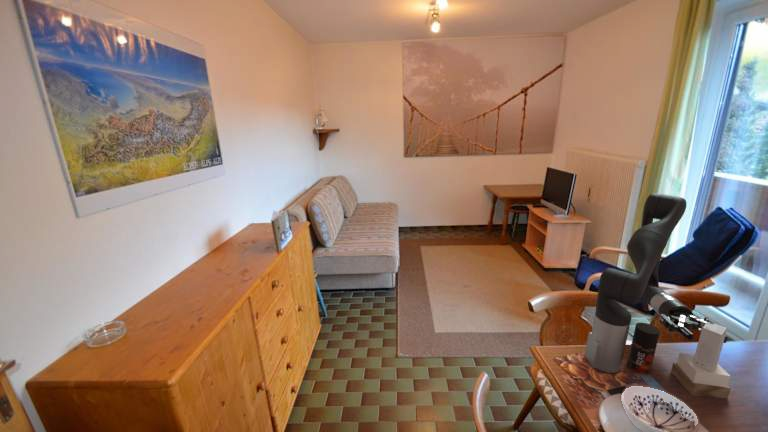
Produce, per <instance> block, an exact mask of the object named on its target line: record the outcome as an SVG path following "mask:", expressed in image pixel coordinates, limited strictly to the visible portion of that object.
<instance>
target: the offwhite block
mask: <svg viewBox="0 0 768 432" xmlns="http://www.w3.org/2000/svg"><path fill="white" fill-rule="evenodd" d="M694 357H695V354H694V353H693V354H690V353H684V352H683V353H682V352H679V354H678V357H677V361H676V362H675V363H676V364H677V365H678V366H679V367H680V368H681V369H682V370H683V372H684V373H685V374H686V375H687V376H688V377H689V379H690V380H691V381H692V382H693V383H698V384H705V385H712V386H719V387H726V388H727V385H728V386H729V382H730V380H731V375H730V373H728V372H727V371H726V370H725V369H724V368H723V367H722V366H721V365H720V364H719V363H718V364H717V366H716V367H715V368H714V369H713V370H712V371H709V370H706V369H704V368H702V367H700V366H698V365H696V364H694V363H693V360H694Z"/></svg>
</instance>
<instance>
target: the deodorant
mask: <svg viewBox="0 0 768 432" xmlns="http://www.w3.org/2000/svg"><path fill="white" fill-rule="evenodd" d="M660 332H661V331H660V329H659V328H658V327H656V326H654V325H653V324H650V323H646V322H637V323H636V324H635V327H634V330H633V336H632V341H631V345H630V349H629V354H628V358H627V364H626V365H627V367H628V369H629V370H631V371H632V372H634V373H636V374H638V375H642V376H647V375H650V373H651V370H652V365H653V362H654V358H655V353H656V349H657V347H658V346H657V345H658V342H659V338H660V334H661V333H660Z"/></svg>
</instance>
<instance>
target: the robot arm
mask: <svg viewBox="0 0 768 432" xmlns="http://www.w3.org/2000/svg"><path fill="white" fill-rule="evenodd" d="M686 209H687V200H686V199H685V198H683V197H680V196H678V195H670V194H663V193H656V192H655V193H653V192H652V193H650V194H649V195H648V196H647V198H646V200H645V203H644V205H643V210H642V218H641V226H640V227H639V228H638V229H636V230H635V231H634V232H633V234H632V236H631V238H630V239H629V240H628V243H627V245H626V250H627V254H628V256H629V258H630V261H632V264H633V266H634V269H635V273H630V272H627V271H625V270H624V271H623V270H621V269H620V270H619V269H616V268H611V267H607V268H605V269H604V270H603V271H602V272H601V275H600V277H599V279H598V280H599V282H598V286H597V287H598V289H597V297H596V304H595V305H596V306H595V312H594V319H593V322H592V329H591V331H589V332H588V336H587V340H586V341H587V342H586V347H585V351H584V352H585V353H584V358H586V360H587V361H588V363H589V364H590V366H591V368H592V369H597V370H600V371H601V372H605V373H609V374H610V373H611V374H615V373H619V372H620V371H621V367H622V364H623V359H624V354H625V349H626V344H627V340H628V335H629V331H630V326H631V322H632V314H631V312H630V311H629V310H628V309H627V308H626V307H625V306H623V305H621V304H620V303H623V304H625V305H631V306H635V305H638V303H639V302H640V301H642V302H644V303H646V304H647V305H648V306H649V307H651V308H652V309H653V310H654V311H655V313H657V314H658V315H659V319H658V322H659V323H660V324H662V326H664V327H665V328H666V329H667V330H668V331H669V332H671V333H674V332H676V333H677V334H680V335H682V336H683V338H685V339H687V340H688V341H693V340H694V338H695V334H694V333H692V332H691V331H690V330H695V331H698V332H700V333H701V330H702V328H703V327H704V326H705V324H707V323H708V322H711V323H714V324H717V325H720V324H719V323H717V322H716V321H715V320H713V319H712V318H710V317H708V316H704V317H703V318H700V317H697V316H696V315H695V314H694V312H693V311H692V310H691V308H689V307H688V306H687V305H686V304H684V303H683V302H681V301H680V300H678V299H677V298H676V297H674V296H672V295H670V294H669V293H667V291H664V289H662V288H660V285H659V284H660V283H659V282H660V281H659V267H660V263H661V259H662V256H663V254H664V253H663V252H664V251H665V249H666V247H667V244H668V242H669V239H670V237H671V235H672V233H673V231H674V229H675V228H676V227H677V225H678V223H680V221H681V219H682V217H684V214H685V212H686ZM654 220H657V221H654ZM619 302H620V303H619ZM701 325H703V326H702V328H701ZM720 326H722V325H720ZM728 339H729V337H728V336H727V334H725V338H724V342H723V344H727V342H728Z"/></svg>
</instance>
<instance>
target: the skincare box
mask: <svg viewBox="0 0 768 432" xmlns="http://www.w3.org/2000/svg"><path fill="white" fill-rule="evenodd" d="M703 326H704V325H703ZM703 326H702V328H701V329H702V330H701V332H700V334H699V339H698V342H697V345H696V350H695V353H694V355H695V357H694V360H693V363H694V364H696V365H698V366H700V367H702V368H704V369H706V370H709V371H712V370H713V369H714V368H715V367H716V366H717V364H719V360H720V357H721V353H722V349H723V346H724V343H723V342H724V338H725V335H727V334H726V333H727V330H728V328H727V327H726V326H723V325H721V326H720V324H719V325H717V324H714V323H711V322H708V323H707V324H705V326H704V327H703Z"/></svg>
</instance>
